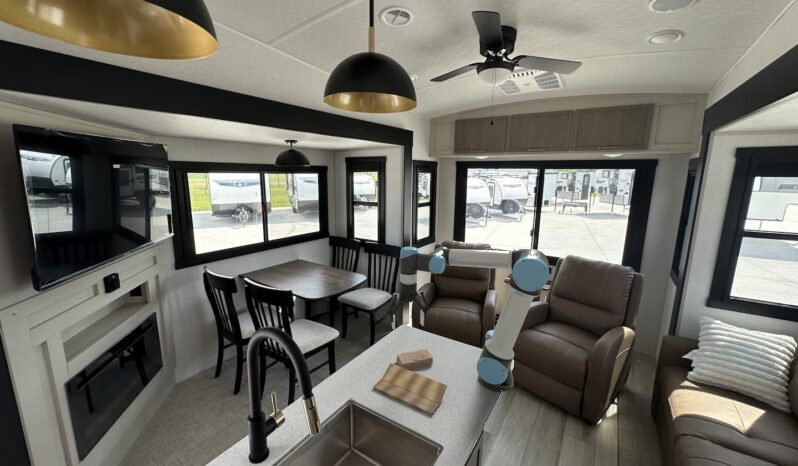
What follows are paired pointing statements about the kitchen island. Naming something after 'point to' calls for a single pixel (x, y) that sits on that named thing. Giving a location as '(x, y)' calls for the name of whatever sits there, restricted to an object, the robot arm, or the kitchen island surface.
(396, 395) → the laid row
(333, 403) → the kitchen island surface
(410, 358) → the brick
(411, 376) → the plank
